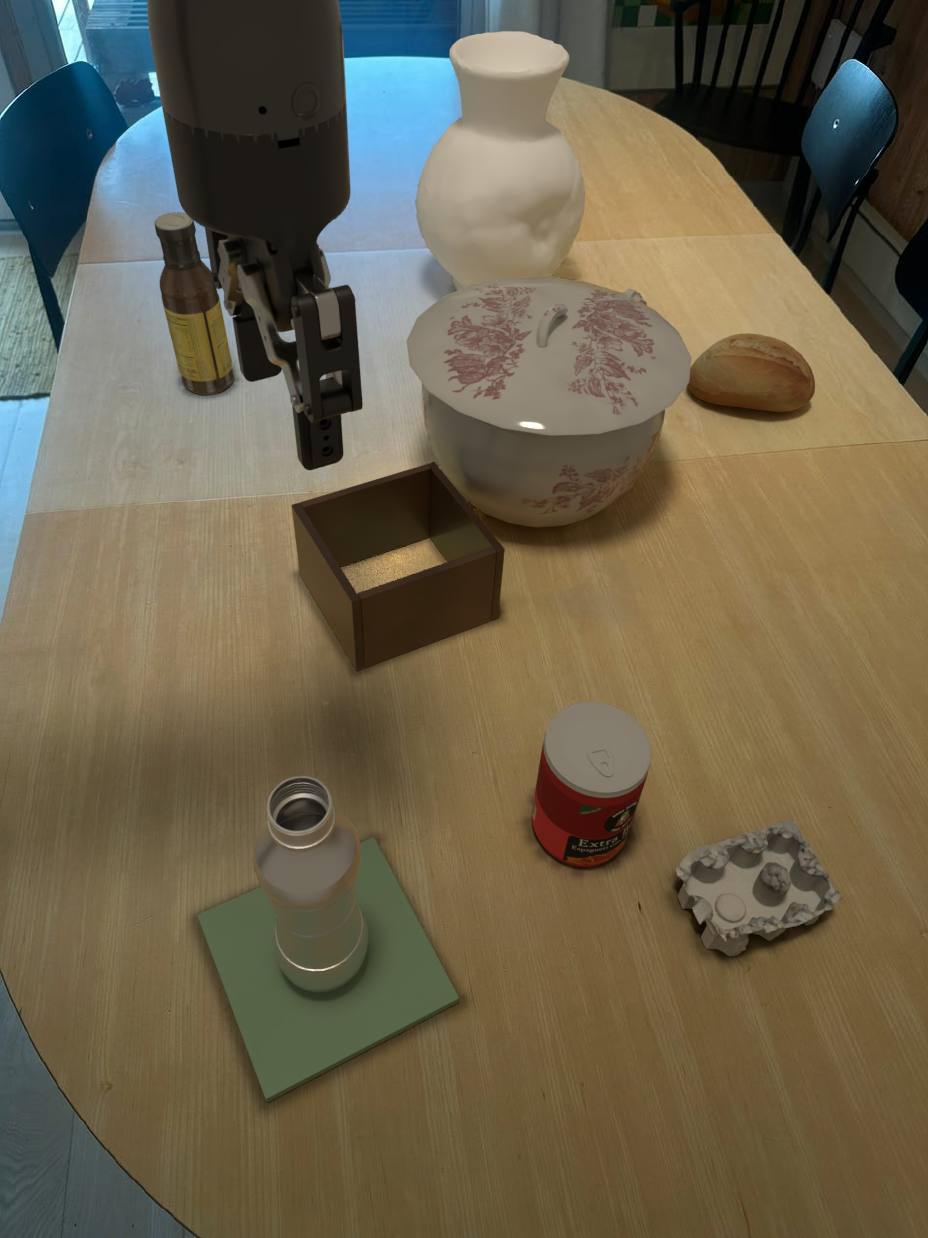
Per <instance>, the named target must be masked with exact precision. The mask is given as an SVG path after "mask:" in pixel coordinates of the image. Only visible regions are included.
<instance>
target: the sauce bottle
mask: <svg viewBox="0 0 928 1238" xmlns="http://www.w3.org/2000/svg"><path fill="white" fill-rule="evenodd" d="M154 229H155V234H156V236H157V238H158V239H159V242H160V247H161V251H162V259H163V263H164V267H163V268H162V271H161V273H160V277H159V290H160V295H161V296H160V297H161V302H162V306H163V310H164V315H165V318H166V322H167V326H168V332H169V336H170V340H171V344H172V347H173V351H174V356H175V360H176V364H177V369H178V371H179V374H180V375H181V380H182V384H183V386H184V387H185V388H186V389H187V390H188V391H190V392H191V393H195V394H198V395H204V396H205V395H212V394H217V393H220V392H222V391H224V390H226V389H227V388H229V386H230V385H231V384H232V383H233V381H234V372H233V368H232V367H233V361H232V356H231V355H232V354H231V351H230V346H229V345H230V344H229V339H228V334H227V329H226V324H225V319H224V314H223V308H222V303H221V298H220V295H219V293H218V289H217V288H216V286H215V284H214V283H213V282H212V279H211V268H209V266H207V264H205V262H204V261H203V260H202V259H201V252H200V251H199V248H198V243H197V237H196V232H197V229H196V224H195V221H194V220H192V219H191V218H190V217H189V216H188V215H187V214H186V213H185V212H181V211H177V212H175V211H174V212H167V213H165V214H162V215H160V216H158V218H156V219H155V220H154Z"/></svg>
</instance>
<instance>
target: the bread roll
mask: <svg viewBox="0 0 928 1238" xmlns="http://www.w3.org/2000/svg"><path fill="white" fill-rule="evenodd" d="M815 380H816V379H815V375H814V373H813V370H812V368H811V366H810V364H809V362H807V360H806V359H805V357H804V355H803V354H802V353H801V352H800V351H798V350H797V349H795V348H794V347H793V346H791V345H790V344H789V343H787V342H786V341H783V340H781V339H779V338H776V337H772V336H769V335H764V334H759V333H750V332H749V333H747V332H746V333H737V334H731V335H729V336H726V337H724V338H722V339H720V340H718V341H716V342H715V343H713V344H712V345H710V346H709V347H708V348H707V349H706V350H704V352H703V353H701V354H700V355H699V357H697V358H696V360H695V361H694V362H693V363H692V364H691V367H690V379H689V383H688V385H687V388H688V389H689V390H690V392H691V393H692V394H693V395H694V396H695V398H698V399H699V400H701V401H703V402H706V403H709V404H715V405H721V406H728V407H737V408H743V409H752V410H758V411H763V412H764V411H765V412H776V413H784V412H792V411H795V410H798V409H800V408H803V407H804V406H806V405H807V404H809V403H810V401H811V400H812V398H813V397H814V395H815V392H816V381H815Z"/></svg>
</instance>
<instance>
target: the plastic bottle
mask: <svg viewBox="0 0 928 1238" xmlns="http://www.w3.org/2000/svg"><path fill="white" fill-rule="evenodd" d="M332 799H333V798H332V795H331V793H330V791H329V789H328V787H327V786H326V785H325V784H324V783H323V782H322V781H320V780H319V779H317V778H315V777H312V776H307V775H296V776H291V777H289V778H286V779H284V780H283V781H281V782H279V783H278V784H277V785H276V786H275V787H274V788H273V790H272V791H271V792H270V794H269V796H268V798H267V802H266V815H267V819H266V821H265V822H264V824H262V826H261V828H260V830H259V831H258V834H257V837H256V840H255V844H254V847H253V851H252V865H253V870H254V873H255V876H256V879H257V882H258V883H259V887H261V888H262V889H263V891H264V892H265V894H266V896H267V897H268V899H269V901H270V902H271V905H272V907H273V910H274V913H275V928H274V945H273V947H274V954H275V957H276V960H277V963H278V965H279V967H280V968H281V970H282V971H283V973H284V974H285V975H286V976H287V978H288V979H289V980H290V981H291V982H292V983H293V984H295V985H296V986H298V987H299V988H301V989H304V990H307V991H311V992H328V991H332V990H335V989H337V988H340V987H342V986H343V985H345V984H346V983H348V982H349V981H350V980H351V979H352V978H353V977H354V976H355V975H356V974H357V972H358V971H359V969H360V967H361V966H362V963H363V961H364V958H365V955H366V952H367V947H368V942H369V937H368V928H367V923H366V921H365V918H364V916H363V913H362V911H361V909H360V907H359V906H358V903H357V899H356V881H357V876H358V871H359V867H360V858H361V845H360V843H361V841H360V836H359V834H358V832H357V830H356V828H355V826H354V825H353V824H352V823H351V821H350V819H349V818H348V817H347V816H346V815H345V813H343V812H342V811H341V810H340V809H339V808H337V807H335V806H334V804H333V800H332Z"/></svg>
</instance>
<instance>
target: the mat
mask: <svg viewBox="0 0 928 1238" xmlns="http://www.w3.org/2000/svg"><path fill="white" fill-rule="evenodd" d="M360 845H361V858H360V867H359V871H358V876H357V881H356V899H357V903H358V906H359V907H360V909H361V911H362V913H363V916H364V918H365V921H366V923H367V928H368V937H369V942H368V947H367V952H366V955H365V958H364V961H363V963H362V966H361V967H360V969H359V971H358V972H357V974H356V975H355V976H354V977H353V978H352V979H351V980H350V981H349V982H348V983H346V984H345V985H343V986H342V987H340V988H337V989H335V990H332V991H328V992H311V991H307V990H304V989H301V988H299V987H298V986H296V985H295V984H293V983H292V982H291V981H290V980H289V979H288V978H287V976H286V975H285V974H284V973H283V971H282V970H281V968H280V967H279V965H278V963H277V960H276V957H275V954H274V947H273V945H274V928H275V913H274V910H273V907H272V905H271V902H270V901H269V899H268V897H267V896H266V894H265V892H264V891H263V889H262V888H261V886H259V887H257V888H254V889H252V890H249V891H248V892H246V893H243V894H241V895H238V896H236V897H234V898H232V899H230V900H227V901H225V902H223V903H221V904H219V905H216V906H214V907H212V908H209V909H207V910H205V911H203V912H200V913H198V914H197V915H196V917H197V919H198V922H199V925H200V927H201V930H202V934H203V935H204V939H205V941H206V944H207V946H208V949H209V951H210V955H211V958H212V960H213V963H214V966H215V968H216V970H217V973H218V976H219V979H220V982H221V983H222V987H223V989H224V990H223V991H224V992H225V995H226V998H227V1000H228V1003H229V1006H230V1008H231V1011H232V1013H233V1016H234V1019H235V1022H236V1025H237V1027H238V1030H239V1033H240V1034H241V1037H242V1040H243V1043H244V1046H245V1049H246V1052H247V1053H248V1056H249V1059H250V1062H251V1065H252V1067H253V1070H254V1073H255V1076H256V1078H257V1080H258V1083H259V1086H260V1089H261V1092H262V1094H263V1097H264V1099H265V1102H266V1103H267V1104H268V1103H269V1102H271V1101H273V1100H276V1099H277V1098H279V1097H281V1096H283V1095H285V1094H286V1093H289V1092H291V1091H292V1090H294V1089H296V1088H298V1087H300V1086H302V1085H305V1084H306V1083H308V1082H310V1081H312V1080H314V1079H315V1078H318V1077H319V1076H321V1075H323V1074H326V1073H327V1072H329V1071H331V1070H333V1069H334V1068H336V1067H338V1066H340V1065H342V1064H344V1063H346V1062H348V1061H350V1060H352V1059H353V1058H357V1056H359V1055H361V1054H363V1053H365V1052H367V1051H369V1050H372V1049H373V1048H374V1047H377V1046H378V1045H381V1044H383V1043H384V1042H386V1041H388V1040H390V1039H391V1038H393V1037H395V1036H398V1035H399V1034H401V1033H404V1032H405V1031H407V1030H409V1029H411V1028H413V1027H415V1026H416V1025H419V1024H420V1023H422V1022H424V1021H426V1020H428V1019H430V1018H432V1017H433V1016H436V1015H437V1014H440V1013H441V1012H443V1011H445V1010H447V1009H449V1008H452V1007H453V1006H455V1005H457V1004H458V1003H459V1002H460V996H459V994H458V993H457V991H456V989H455V987H454V985H453V983H452V981H451V979H450V977H449V976H448V974H447V972H446V970H445V968H444V966H443V964H442V962H441V960H440V959H439V957H438V955H437V953H436V951H435V949H434V946H433V945H432V943H431V942H430V939H429V938H428V936H427V933H426V932H425V930H424V928H423V925H422V924H421V923H420V921H419V919H418V917H417V914H416V913H415V911H414V909H413V908H412V905H411V903H410V901H409V900H408V898H407V895H406V894H405V893H404V890H403V888H402V886H401V884H400V883H399V881H398V879H397V877H396V875H395V874H394V871H393V870H392V868H391V866H390V864H389V862H388V860H387V859H386V857H385V855H384V852H383V851H382V849H381V847H380V845H379V844H378V841H377V839H376V838H375V836H373V837H370V838H368V839H366V840H363V841H360Z"/></svg>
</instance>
